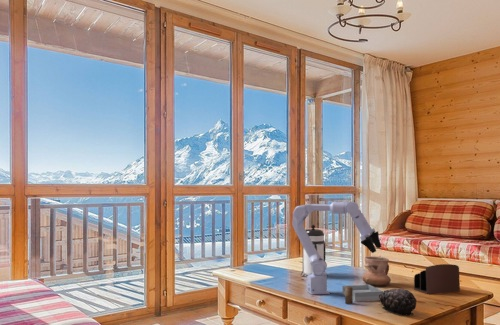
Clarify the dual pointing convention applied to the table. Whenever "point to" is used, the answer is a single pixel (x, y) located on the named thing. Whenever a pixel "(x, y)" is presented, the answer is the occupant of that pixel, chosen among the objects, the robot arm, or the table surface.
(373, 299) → the slate box
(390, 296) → the pine cone
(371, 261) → the ceramic jug
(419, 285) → the letter holder
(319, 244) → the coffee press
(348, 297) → the walnut peg
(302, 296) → the table surface
